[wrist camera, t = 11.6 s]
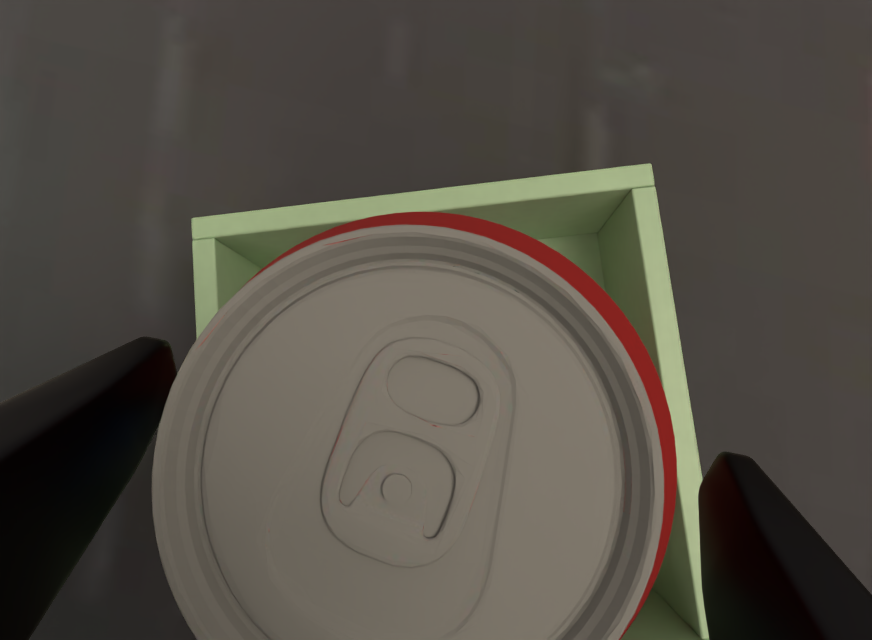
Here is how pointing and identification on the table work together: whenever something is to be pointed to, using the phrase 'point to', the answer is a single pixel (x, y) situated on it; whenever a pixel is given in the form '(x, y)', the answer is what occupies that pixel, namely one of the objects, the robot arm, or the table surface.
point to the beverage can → (415, 446)
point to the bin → (577, 241)
